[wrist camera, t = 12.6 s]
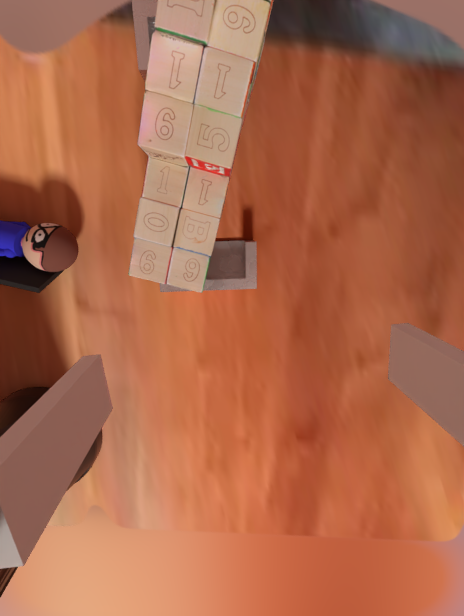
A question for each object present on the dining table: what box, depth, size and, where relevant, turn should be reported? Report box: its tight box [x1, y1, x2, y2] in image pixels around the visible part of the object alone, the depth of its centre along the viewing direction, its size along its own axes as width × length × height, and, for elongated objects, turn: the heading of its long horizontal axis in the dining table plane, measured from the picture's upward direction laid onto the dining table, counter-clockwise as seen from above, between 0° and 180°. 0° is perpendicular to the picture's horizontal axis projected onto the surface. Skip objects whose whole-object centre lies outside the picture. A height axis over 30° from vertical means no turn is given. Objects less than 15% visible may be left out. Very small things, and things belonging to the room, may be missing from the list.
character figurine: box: [0, 220, 78, 293], centre depth 31 cm, size 8×7×15 cm
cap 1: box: [132, 0, 158, 81], centre depth 29 cm, size 11×5×4 cm, turn 92°
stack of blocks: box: [128, 0, 274, 293], centre depth 24 cm, size 21×6×12 cm, turn 165°
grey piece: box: [160, 240, 257, 292], centre depth 34 cm, size 11×5×4 cm, turn 92°
